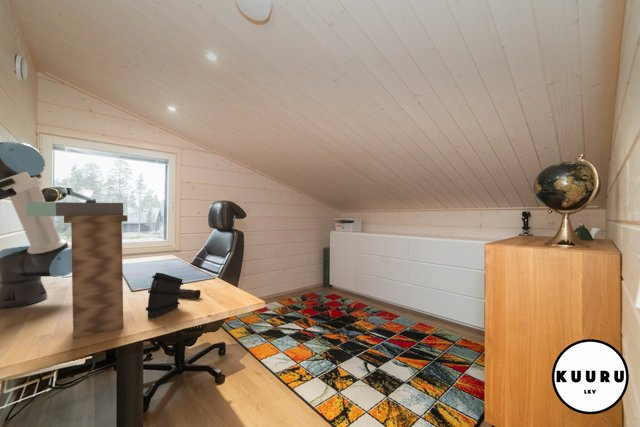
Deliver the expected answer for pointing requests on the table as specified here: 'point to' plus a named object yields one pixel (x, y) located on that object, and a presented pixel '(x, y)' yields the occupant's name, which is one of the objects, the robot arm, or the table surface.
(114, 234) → the walnut stand
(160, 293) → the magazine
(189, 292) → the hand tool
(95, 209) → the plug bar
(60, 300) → the table surface
